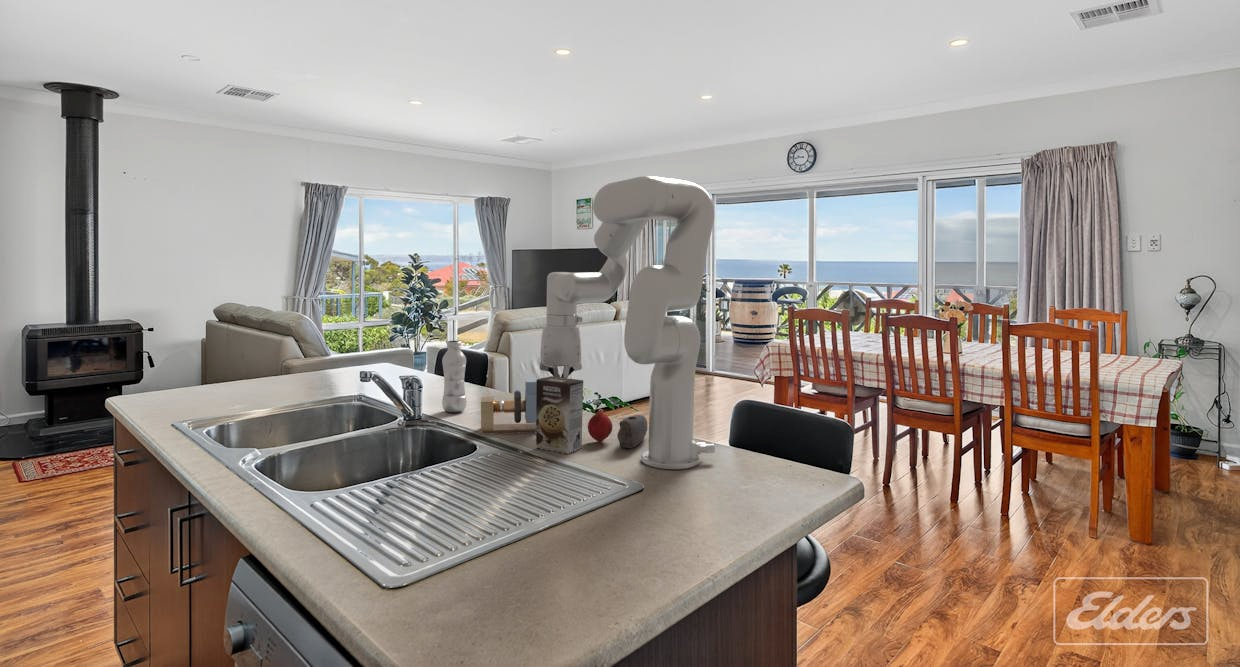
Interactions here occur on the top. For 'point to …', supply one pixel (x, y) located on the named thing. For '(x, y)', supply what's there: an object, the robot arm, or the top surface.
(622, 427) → the perforated stone tool
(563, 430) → the coffee box
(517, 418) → the o ring
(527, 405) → the blue-grey stepped block
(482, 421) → the pipe rig
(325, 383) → the top surface
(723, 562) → the top surface
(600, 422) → the onion
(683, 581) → the top surface
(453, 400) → the plastic bottle
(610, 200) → the robot arm
